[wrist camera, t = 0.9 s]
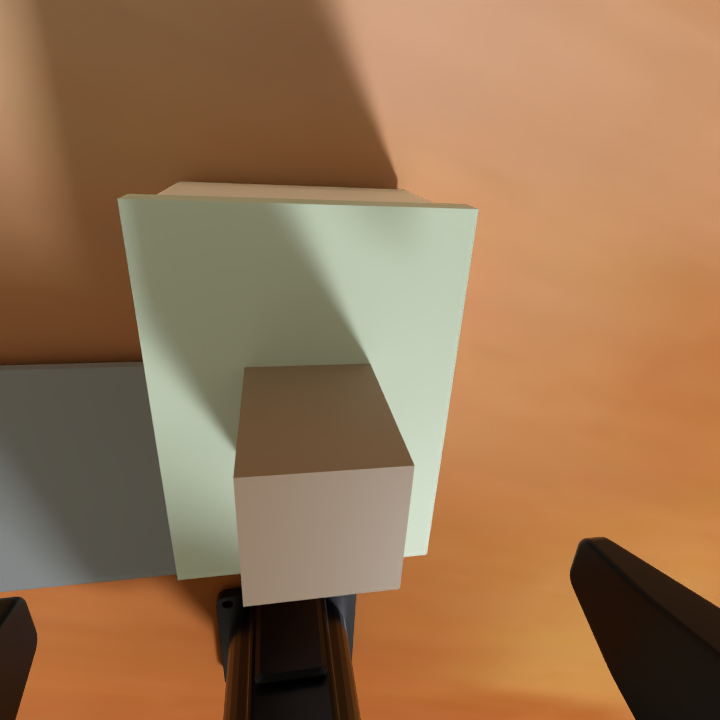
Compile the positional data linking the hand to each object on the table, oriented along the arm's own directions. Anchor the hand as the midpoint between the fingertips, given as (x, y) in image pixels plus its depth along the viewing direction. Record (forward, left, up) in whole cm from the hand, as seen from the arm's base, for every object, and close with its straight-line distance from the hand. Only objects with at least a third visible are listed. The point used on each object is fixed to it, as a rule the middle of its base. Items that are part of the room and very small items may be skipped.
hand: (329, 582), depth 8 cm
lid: (0, 0, -6) cm, 6 cm away
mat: (-6, +9, -11) cm, 15 cm away
